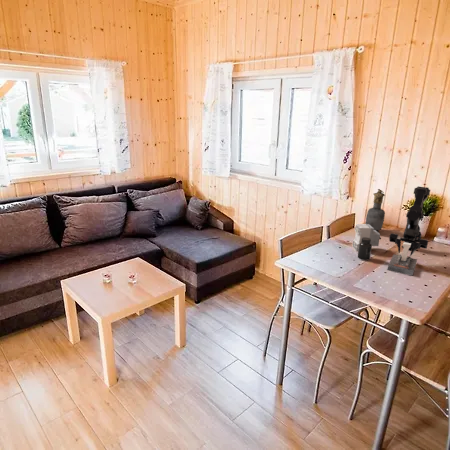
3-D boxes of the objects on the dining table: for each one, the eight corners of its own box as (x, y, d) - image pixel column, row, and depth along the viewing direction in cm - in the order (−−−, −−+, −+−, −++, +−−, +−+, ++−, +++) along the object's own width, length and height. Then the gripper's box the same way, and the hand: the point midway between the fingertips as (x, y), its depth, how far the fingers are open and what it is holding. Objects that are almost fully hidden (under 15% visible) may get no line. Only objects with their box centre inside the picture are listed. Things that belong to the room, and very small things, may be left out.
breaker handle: (400, 258, 192) (403, 242, 188) (407, 259, 190) (411, 243, 187) (399, 260, 189) (403, 243, 186) (407, 261, 187) (410, 245, 184)
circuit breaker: (380, 251, 208) (384, 228, 203) (356, 251, 208) (359, 227, 204) (375, 247, 215) (379, 224, 210) (352, 246, 215) (355, 223, 211)
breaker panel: (392, 259, 198) (394, 251, 197) (416, 264, 192) (417, 256, 191) (387, 269, 185) (388, 261, 183) (412, 275, 179) (414, 267, 177)
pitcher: (362, 233, 239) (369, 190, 229) (367, 225, 254) (373, 185, 245) (379, 236, 234) (387, 193, 224) (383, 228, 249) (390, 187, 240)
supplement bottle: (369, 256, 201) (372, 237, 197) (370, 261, 195) (373, 241, 191) (357, 255, 203) (360, 235, 199) (357, 259, 197) (360, 239, 193)
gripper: (393, 219, 191) (386, 244, 186) (431, 225, 181) (425, 252, 176) (392, 228, 200) (386, 252, 195) (429, 235, 190) (423, 260, 185)
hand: (404, 254), depth 187 cm, fingers open, 5 cm apart
